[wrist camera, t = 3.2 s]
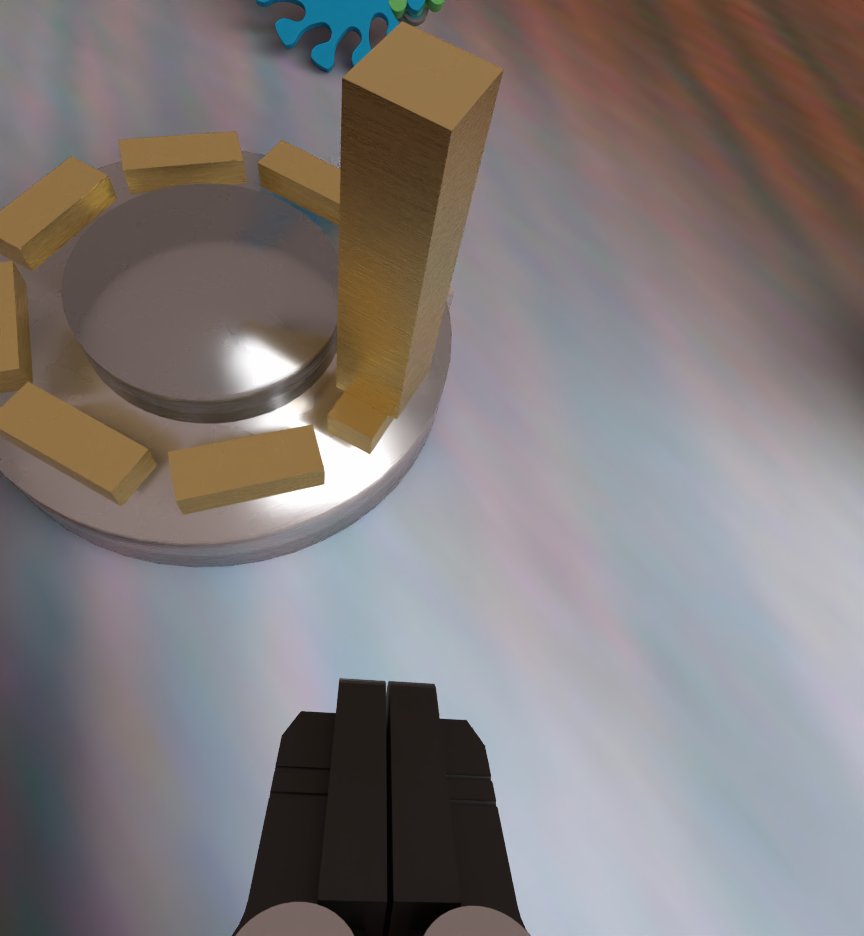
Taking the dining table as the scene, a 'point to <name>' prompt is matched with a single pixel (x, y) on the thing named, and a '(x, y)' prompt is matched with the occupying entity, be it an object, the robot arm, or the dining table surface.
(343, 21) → the blue lobed toy
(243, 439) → the peg on ring base
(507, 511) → the dining table surface
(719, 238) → the dining table surface
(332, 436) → the grey round piece
